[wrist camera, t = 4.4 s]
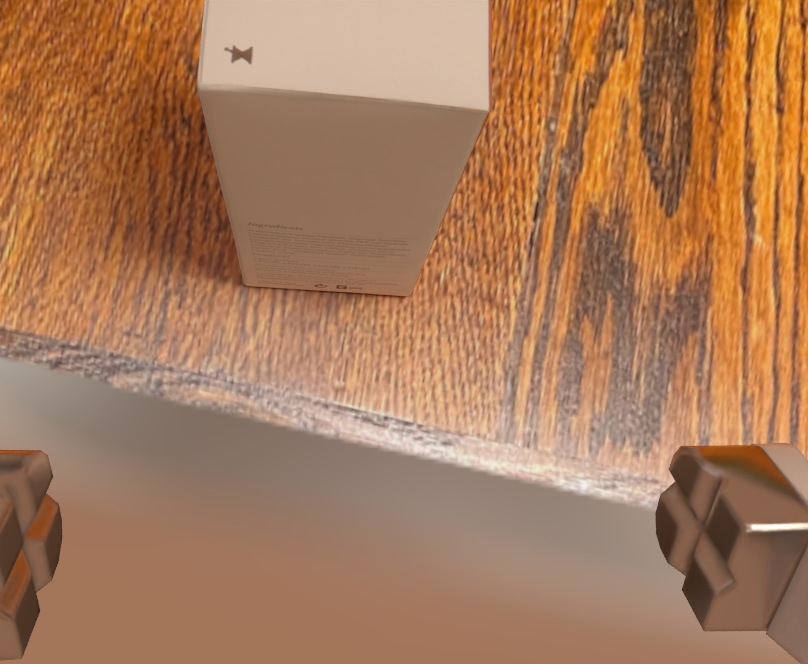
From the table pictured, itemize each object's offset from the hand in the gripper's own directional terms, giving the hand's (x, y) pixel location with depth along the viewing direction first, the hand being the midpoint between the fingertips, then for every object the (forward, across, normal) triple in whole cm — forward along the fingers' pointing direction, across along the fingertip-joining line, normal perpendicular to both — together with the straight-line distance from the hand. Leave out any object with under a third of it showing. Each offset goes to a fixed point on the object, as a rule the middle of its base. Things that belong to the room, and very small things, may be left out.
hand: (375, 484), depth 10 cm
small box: (+20, 0, +4) cm, 21 cm away
